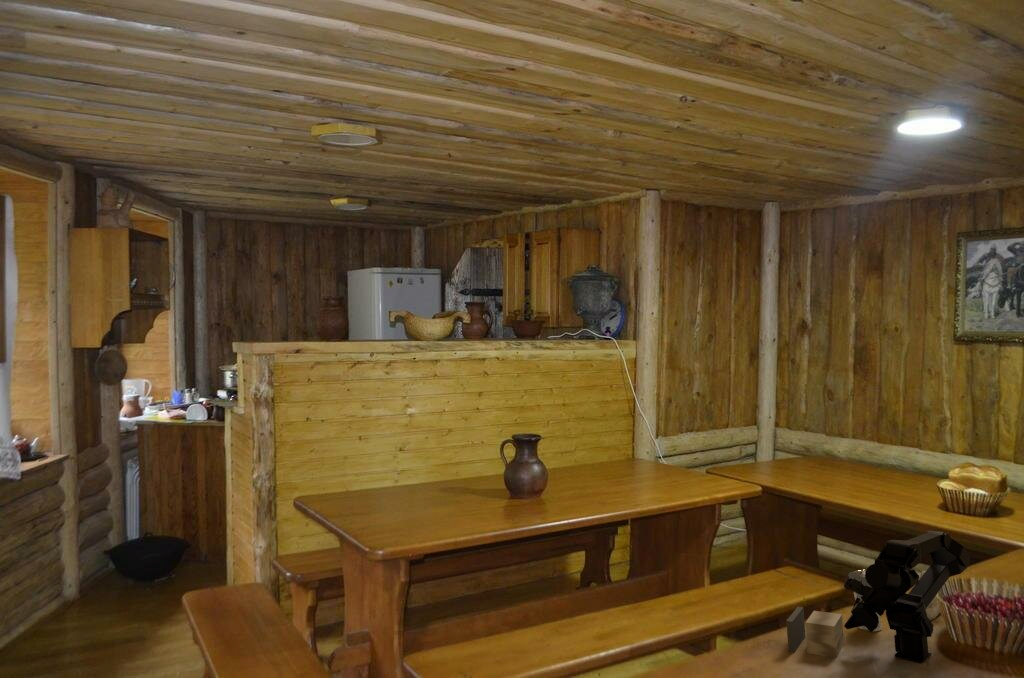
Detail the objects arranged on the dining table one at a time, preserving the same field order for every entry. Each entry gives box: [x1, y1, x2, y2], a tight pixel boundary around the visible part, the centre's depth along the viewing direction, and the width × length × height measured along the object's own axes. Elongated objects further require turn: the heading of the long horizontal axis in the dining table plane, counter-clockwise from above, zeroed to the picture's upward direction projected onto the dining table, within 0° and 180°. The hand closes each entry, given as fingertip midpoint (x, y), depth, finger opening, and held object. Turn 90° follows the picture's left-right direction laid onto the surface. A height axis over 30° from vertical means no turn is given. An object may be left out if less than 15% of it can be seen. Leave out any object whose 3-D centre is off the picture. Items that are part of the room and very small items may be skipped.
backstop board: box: [785, 606, 807, 654], centre depth 200 cm, size 2×12×8 cm, turn 145°
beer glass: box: [852, 569, 883, 633], centre depth 208 cm, size 7×7×15 cm
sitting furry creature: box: [919, 570, 941, 621], centre depth 216 cm, size 10×9×12 cm
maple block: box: [805, 610, 845, 659], centre depth 196 cm, size 7×10×8 cm
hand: (845, 627), depth 192 cm, fingers closed
